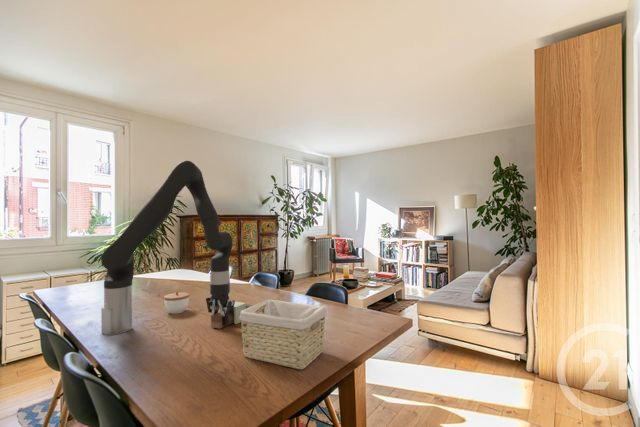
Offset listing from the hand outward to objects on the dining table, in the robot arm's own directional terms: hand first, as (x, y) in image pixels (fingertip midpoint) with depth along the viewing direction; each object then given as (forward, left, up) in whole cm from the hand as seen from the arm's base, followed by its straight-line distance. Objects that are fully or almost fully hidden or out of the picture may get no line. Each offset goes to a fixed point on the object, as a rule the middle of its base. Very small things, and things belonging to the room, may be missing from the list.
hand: (220, 324), depth 122 cm
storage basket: (-9, -37, -1) cm, 38 cm away
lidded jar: (+5, +33, -1) cm, 34 cm away
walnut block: (+3, 0, -1) cm, 3 cm away
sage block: (+7, 0, -1) cm, 8 cm away
